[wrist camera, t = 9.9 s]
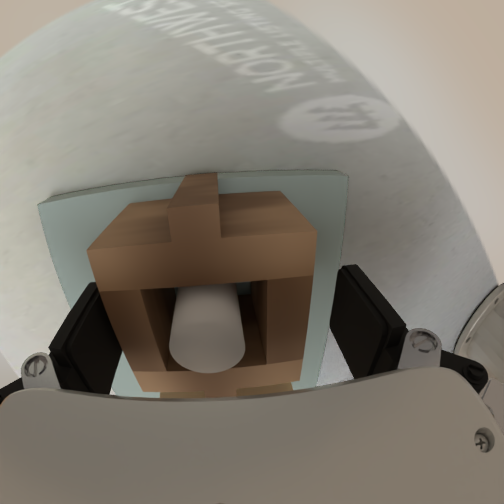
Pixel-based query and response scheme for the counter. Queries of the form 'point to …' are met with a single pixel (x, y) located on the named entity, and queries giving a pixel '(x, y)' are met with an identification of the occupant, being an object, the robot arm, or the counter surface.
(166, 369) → the ribbed wooden holder
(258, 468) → the robot arm
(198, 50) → the counter surface
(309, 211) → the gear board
